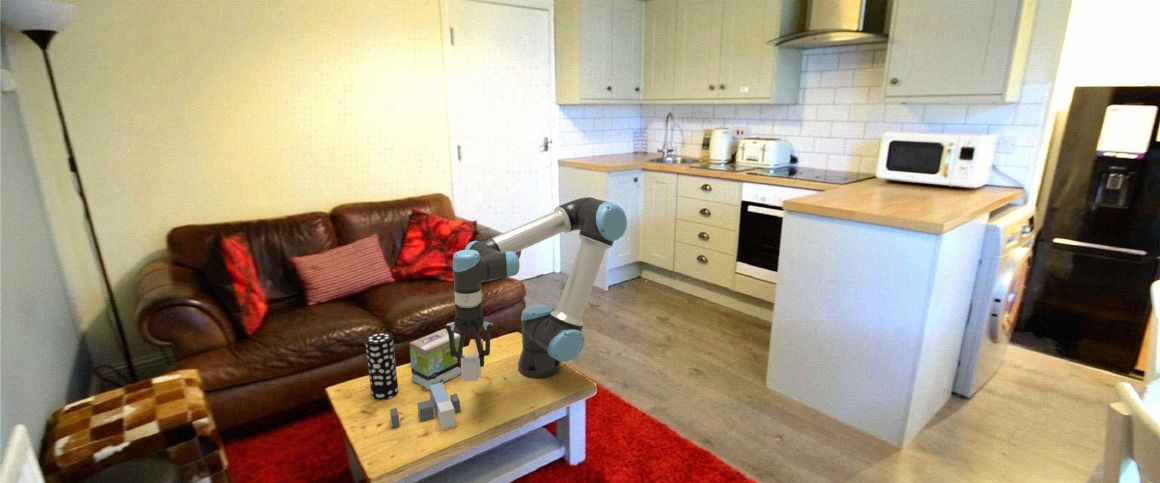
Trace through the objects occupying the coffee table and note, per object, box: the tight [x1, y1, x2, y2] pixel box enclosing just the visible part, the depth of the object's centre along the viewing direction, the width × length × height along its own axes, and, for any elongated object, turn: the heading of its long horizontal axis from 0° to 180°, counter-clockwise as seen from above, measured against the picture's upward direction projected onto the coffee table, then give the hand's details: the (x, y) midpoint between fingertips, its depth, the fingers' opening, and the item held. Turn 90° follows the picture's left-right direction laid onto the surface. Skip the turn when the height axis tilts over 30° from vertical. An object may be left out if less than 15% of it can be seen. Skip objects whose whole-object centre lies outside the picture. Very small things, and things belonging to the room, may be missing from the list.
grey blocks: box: [389, 393, 461, 429], centre depth 161 cm, size 20×4×4 cm, turn 115°
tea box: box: [409, 328, 464, 391], centre depth 182 cm, size 15×10×15 cm
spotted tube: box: [364, 331, 399, 401], centre depth 171 cm, size 8×8×20 cm
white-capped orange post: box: [463, 338, 484, 382], centre depth 165 cm, size 4×18×6 cm, turn 4°
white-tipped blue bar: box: [429, 382, 456, 431], centre depth 163 cm, size 4×18×6 cm, turn 25°
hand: (471, 376), depth 159 cm, fingers closed on white-capped orange post, 4 cm apart
